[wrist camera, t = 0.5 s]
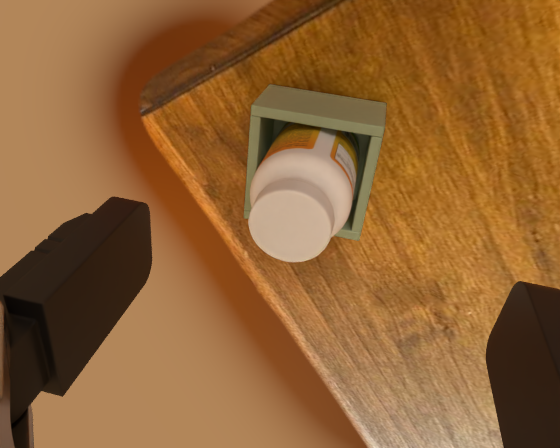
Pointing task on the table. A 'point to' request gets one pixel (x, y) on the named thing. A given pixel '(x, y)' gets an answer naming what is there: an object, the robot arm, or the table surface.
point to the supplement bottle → (303, 191)
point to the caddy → (328, 114)
